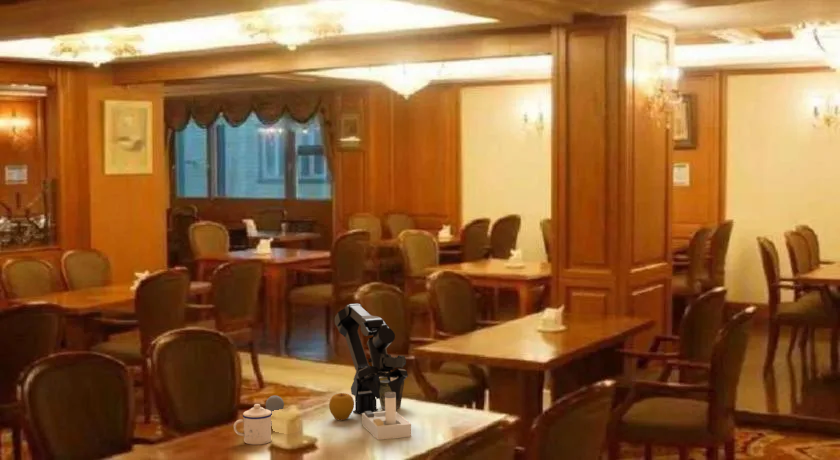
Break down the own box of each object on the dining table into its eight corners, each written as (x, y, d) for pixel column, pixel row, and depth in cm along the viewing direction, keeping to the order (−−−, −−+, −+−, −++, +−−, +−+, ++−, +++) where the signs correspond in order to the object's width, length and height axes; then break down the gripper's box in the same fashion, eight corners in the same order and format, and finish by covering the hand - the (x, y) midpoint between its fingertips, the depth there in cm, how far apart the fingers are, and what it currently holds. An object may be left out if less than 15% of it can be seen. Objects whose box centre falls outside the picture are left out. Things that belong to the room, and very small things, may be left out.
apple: (358, 420, 369) (357, 394, 368) (333, 423, 366) (333, 397, 365) (350, 415, 377) (349, 389, 376) (326, 417, 374) (325, 392, 373)
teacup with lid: (269, 436, 352) (268, 400, 351) (275, 443, 343) (274, 406, 342) (232, 439, 348) (230, 403, 347) (236, 447, 340) (235, 410, 339)
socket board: (362, 425, 364) (362, 410, 363) (394, 422, 367) (394, 407, 366) (377, 439, 345) (377, 424, 345) (411, 436, 349) (411, 420, 348)
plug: (383, 435, 351) (382, 393, 350) (391, 432, 353) (390, 391, 352) (390, 437, 348) (389, 394, 347) (398, 434, 351) (398, 393, 350)
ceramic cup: (373, 405, 390) (372, 377, 389) (400, 403, 393) (399, 375, 392) (383, 414, 378) (382, 385, 377) (410, 411, 381) (410, 382, 380)
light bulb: (281, 428, 361) (280, 398, 360) (263, 427, 363) (262, 397, 362) (286, 423, 367) (286, 393, 366) (269, 422, 368) (268, 393, 368)
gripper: (376, 343, 356) (386, 389, 350) (414, 347, 370) (424, 392, 364) (352, 355, 362) (361, 401, 356) (390, 359, 376) (400, 403, 370)
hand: (388, 399), depth 361 cm, fingers open, 9 cm apart
